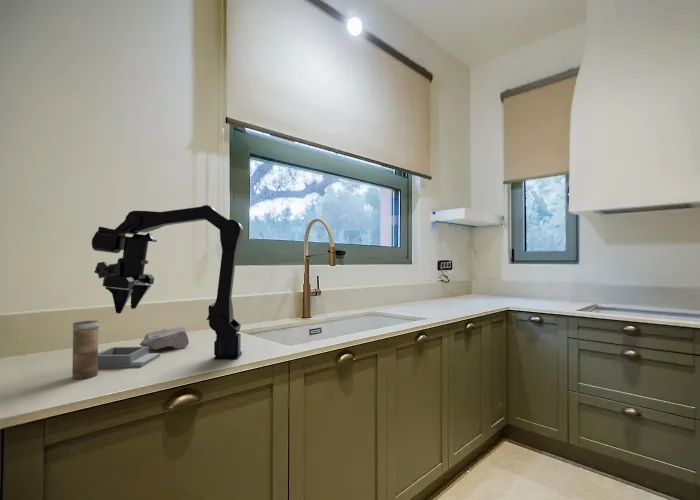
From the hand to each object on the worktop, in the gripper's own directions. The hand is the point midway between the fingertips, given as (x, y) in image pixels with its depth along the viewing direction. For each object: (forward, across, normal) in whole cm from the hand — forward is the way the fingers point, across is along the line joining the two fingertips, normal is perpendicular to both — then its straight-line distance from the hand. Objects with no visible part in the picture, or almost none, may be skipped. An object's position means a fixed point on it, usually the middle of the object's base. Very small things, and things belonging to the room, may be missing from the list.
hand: (126, 310), depth 104 cm
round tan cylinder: (+14, +13, -2) cm, 19 cm away
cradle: (+14, +2, +1) cm, 14 cm away
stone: (+13, -13, +8) cm, 20 cm away
